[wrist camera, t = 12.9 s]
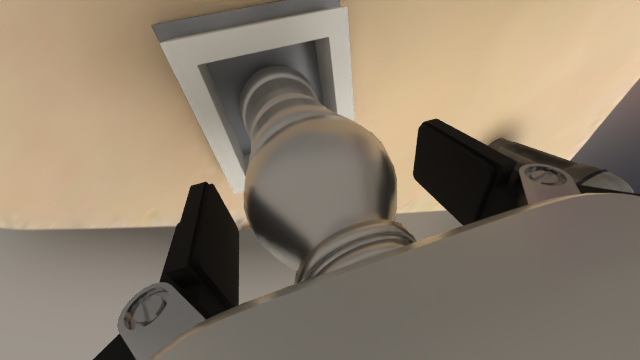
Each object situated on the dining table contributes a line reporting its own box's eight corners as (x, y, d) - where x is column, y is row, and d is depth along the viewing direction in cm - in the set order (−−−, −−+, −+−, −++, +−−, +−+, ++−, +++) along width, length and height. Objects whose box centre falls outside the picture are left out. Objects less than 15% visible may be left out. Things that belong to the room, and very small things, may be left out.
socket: (155, 24, 17) (130, 26, 13) (333, -9, 19) (360, -16, 15) (228, 175, 26) (227, 205, 21) (347, 142, 28) (366, 163, 23)
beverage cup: (468, 176, 38) (633, 288, 22) (482, 135, 34) (701, 238, 18) (504, 166, 39) (684, 265, 23) (522, 125, 35) (758, 213, 19)
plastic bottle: (235, 130, 22) (234, 419, 6) (241, 50, 19) (274, 236, 3) (301, 139, 24) (420, 362, 9) (317, 69, 21) (560, 226, 5)
